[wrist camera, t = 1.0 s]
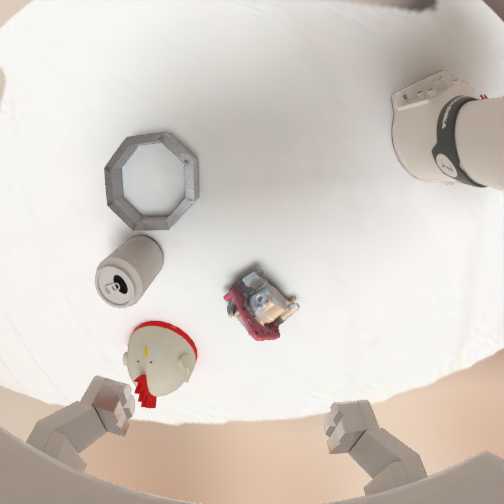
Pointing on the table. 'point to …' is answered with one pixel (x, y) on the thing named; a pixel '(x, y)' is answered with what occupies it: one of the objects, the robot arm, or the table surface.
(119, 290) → the can
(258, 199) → the table surface
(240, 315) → the brake caliper
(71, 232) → the table surface
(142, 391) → the kitchen timer
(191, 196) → the steel ring
